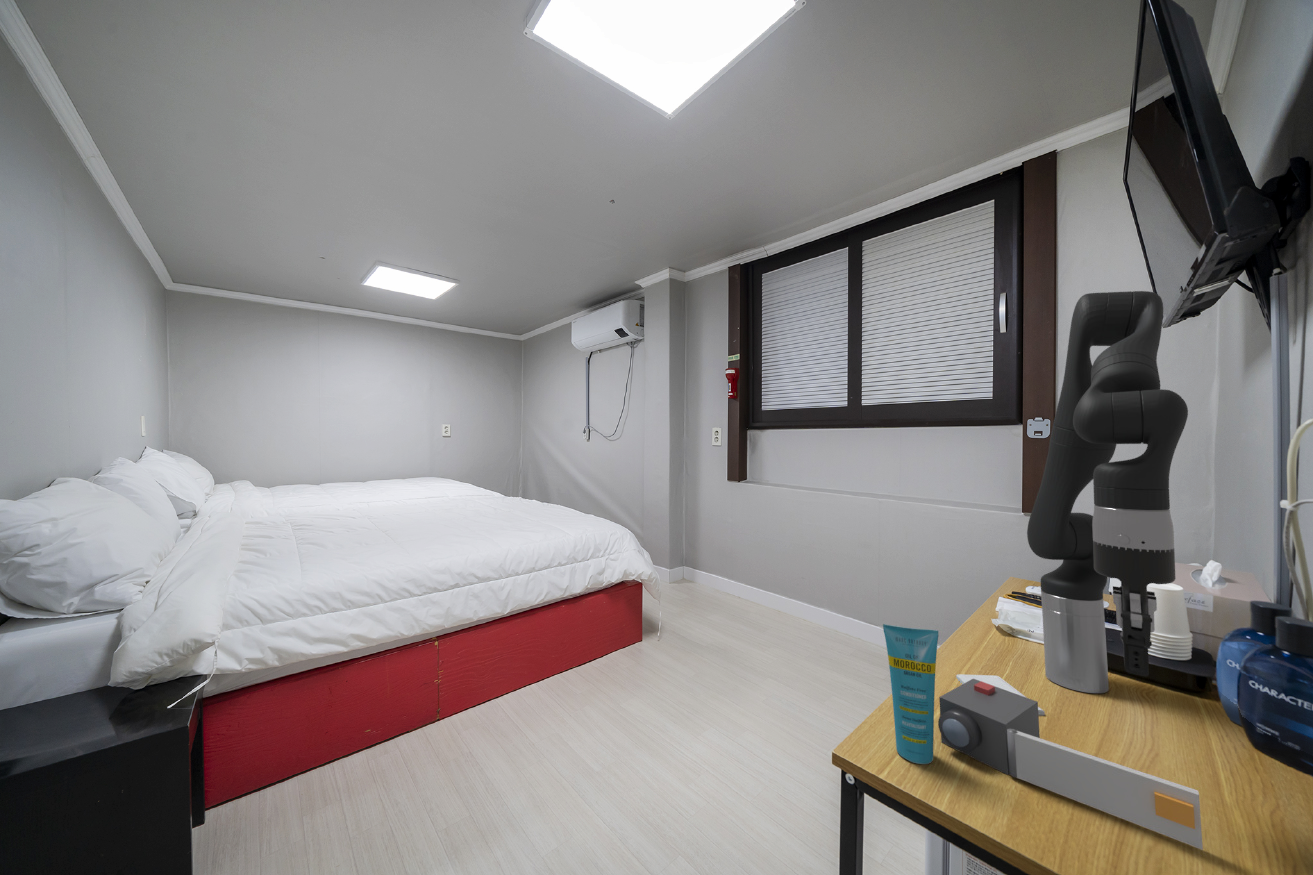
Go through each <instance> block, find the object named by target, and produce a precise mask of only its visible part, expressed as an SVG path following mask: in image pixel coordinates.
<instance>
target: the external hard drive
mask: <svg viewBox="0 0 1313 875" xmlns="http://www.w3.org/2000/svg"><path fill="white" fill-rule="evenodd" d="M956 678H957V679H958V681H960V683H959V684H961V683H962V684H964V683H966V682H968V681H970V680H971V679H976V680H979V681H982V682H984V683H987V684H990V685H993V686H995V687H998V688H1001V689H1004V690H1007V691H1009V692H1012V693H1015V694H1018V695H1020V696H1023V697H1026V698H1028V697H1027V696H1025V695H1024V694H1023V693H1021V692H1020V691H1019V690H1018V689H1016V688H1015V687H1014V686H1012V685H1011V684H1010V683H1008V682H1007V681H1006V680H1004V679H1003V678H1002V677H1000V676H999V675H992V674H991V675H988V674H987V675H986V674H985V675H984V674H963V673H962V674H961V673H959V674H955V679H956ZM958 681H957V682H958ZM962 684H961V685H962ZM1045 712H1046V711H1045V710H1044V709H1043V708H1041V707H1039V706H1038V715H1039V716H1045V714H1046V713H1045Z"/></svg>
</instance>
